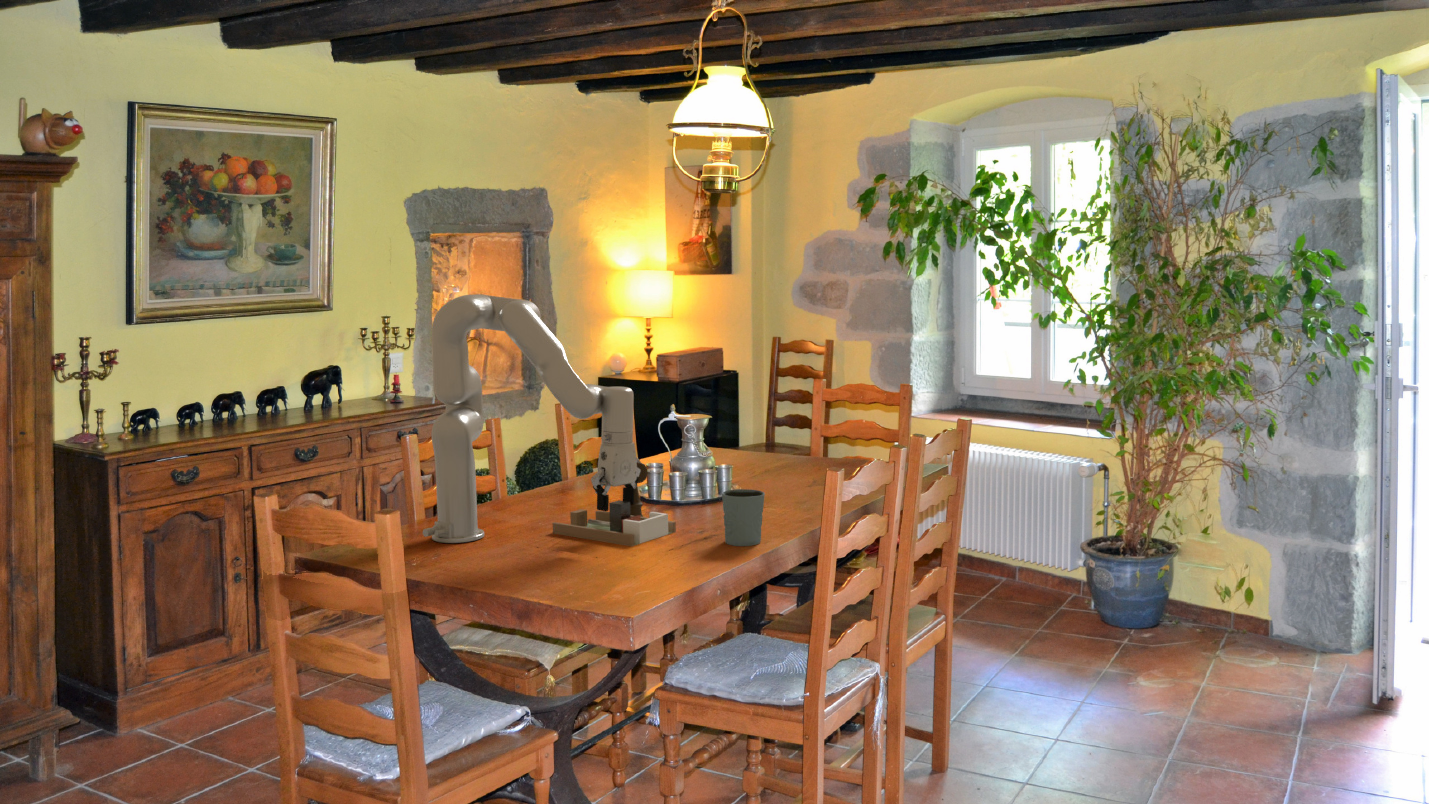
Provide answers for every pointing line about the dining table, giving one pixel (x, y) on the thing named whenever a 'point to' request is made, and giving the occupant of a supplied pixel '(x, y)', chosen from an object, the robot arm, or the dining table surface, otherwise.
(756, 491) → the grey cup
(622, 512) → the block
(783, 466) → the dining table surface
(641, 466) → the kendama
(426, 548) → the dining table surface
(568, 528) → the open rectangular tray
